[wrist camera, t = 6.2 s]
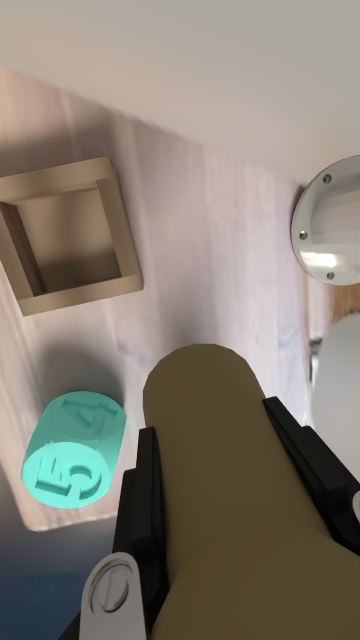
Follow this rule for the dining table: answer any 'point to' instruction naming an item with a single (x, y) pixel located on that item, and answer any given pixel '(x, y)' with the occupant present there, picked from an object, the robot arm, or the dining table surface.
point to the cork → (239, 514)
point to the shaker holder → (66, 236)
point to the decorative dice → (74, 450)
